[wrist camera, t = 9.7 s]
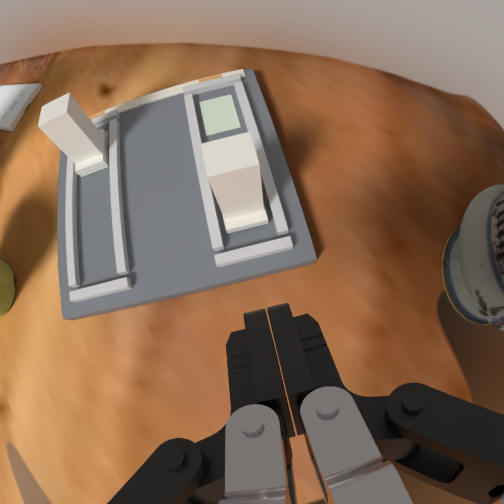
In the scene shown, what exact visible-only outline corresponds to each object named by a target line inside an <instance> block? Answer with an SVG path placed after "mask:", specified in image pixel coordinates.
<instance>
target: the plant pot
mask: <svg viewBox="0 0 504 504" xmlns="http://www.w3.org/2000/svg"><path fill="white" fill-rule="evenodd" d="M14 295H15V284H14V273H13V270H12V269H11V267H10V266H9V265H8V264H7V263H5V262H4V261H2V260H0V316H1V315H3V314H5V313H6V312H7V311H8V310H9V309H10V307H11V305H12V302H13V299H14Z"/></svg>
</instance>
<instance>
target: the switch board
mask: <svg viewBox="0 0 504 504" xmlns="http://www.w3.org/2000/svg"><path fill="white" fill-rule="evenodd" d="M89 118H90V120H91V121H92V122H93V124H94V125H95V126H96V128H97V129H98V130H101V129H104V130H105V132H106V133H107V143H106V157H107V165H104V166H102V167H99V168H96V169H94V170H91V171H89V172H86V173H83V174H81V175H78V174H77V173H76V172H75V163H74V162H73V161H72V160H71V159H70V158H69V157H68V156H67V155H66V154H65V153H64V152H63V151H62V150H61V152H60V164H59V179H58V202H57V245H58V269H59V283H60V295H61V306H62V315H63V319H67V320H76V319H81V318H86V317H91V316H95V315H100V314H105V313H109V312H114V311H118V310H123V309H127V308H132V307H136V306H141V305H145V304H150V303H154V302H158V301H163V300H167V299H171V298H176V297H180V296H184V295H189V294H193V293H197V292H201V291H206V290H210V289H214V288H218V287H222V286H226V285H230V284H235V283H239V282H243V281H247V280H251V279H255V278H259V277H263V276H267V275H271V274H275V273H279V272H283V271H287V270H291V269H294V268H298V267H302V266H306V265H310V264H314V263H315V262H316V260H317V257H316V254H315V250H314V247H313V243H312V240H311V237H310V234H309V230H308V227H307V224H306V221H305V217H304V214H303V211H302V208H301V205H300V202H299V198H298V195H297V192H296V189H295V186H294V183H293V180H292V177H291V174H290V171H289V168H288V165H287V162H286V159H285V156H284V153H283V150H282V148H281V145H280V142H279V139H278V136H277V133H276V131H275V128H274V125H273V122H272V119H271V117H270V114H269V111H268V108H267V106H266V103H265V100H264V98H263V95H262V92H261V90H260V87H259V84H258V82H257V79H256V77H255V74H254V71H253V69H247V70H243V69H240V70H236V71H231V72H227V73H222V74H218V75H214V76H210V77H206V78H202V79H198V80H195V81H191V82H187V83H184V84H180V85H177V86H173V87H170V88H167V89H164V90H160V91H157V92H154V93H151V94H148V95H145V96H142V97H139V98H136V99H134V100H131V101H128V102H125V103H123V104H120V105H117V106H115V107H112V108H109V109H107V110H104V111H102V112H99V113H97V114H94V115H92V116H90V117H89ZM246 132H250V134H251V138H252V141H253V144H254V148H255V151H256V154H257V158H258V161H259V164H260V174H261V184H262V194H263V203H264V207H265V211H266V214H267V218H268V224H264V225H260V226H256V227H252V228H248V229H244V230H240V231H236V232H232V233H228V234H227V231H226V228H225V224H224V219H223V215H222V212H221V209H220V207H219V204H218V202H217V199H216V197H215V195H214V192H213V190H212V187H211V185H210V183H209V180H208V178H207V173H206V168H205V163H204V158H203V153H202V148H201V144H202V143H206V142H210V141H214V140H218V139H221V138H225V137H229V136H234V135H238V134H242V133H246Z"/></svg>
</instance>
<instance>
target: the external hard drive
mask: <svg viewBox="0 0 504 504" xmlns="http://www.w3.org/2000/svg"><path fill="white" fill-rule="evenodd" d="M42 87H43V86H42V85H41V84H40V83H37V84H16V85H2V86H0V130H6V131H13V130H14V129H15V127H16V125H17V124H18V122H19V121H20V119H21V117H22V116H23V114H24V113H25V110H26V109H27V107H28V106H29V105H30V104H31V102H32V101H33V99H34V98H35V97H36V95H37V94H38V92H39V91H40V90H41V88H42Z"/></svg>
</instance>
